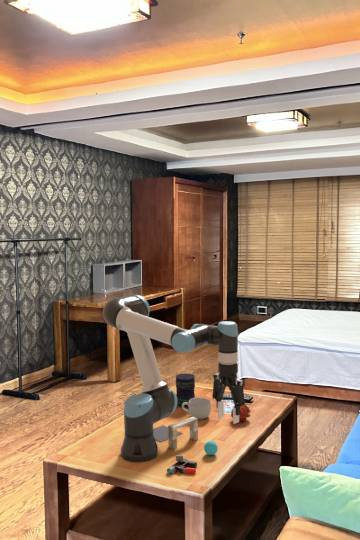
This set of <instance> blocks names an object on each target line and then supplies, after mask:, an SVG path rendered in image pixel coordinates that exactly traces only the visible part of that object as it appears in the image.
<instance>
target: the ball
mask: <svg viewBox="0 0 360 540" xmlns="http://www.w3.org/2000/svg"><path fill="white" fill-rule="evenodd" d="M218 449H219V448H218V445H217V443H216V442H215V441H213V440H208V441H206V442H205V444H204V447H203V451H204V453H205V454H206V455H208V456H213V455H214V456H215V455H216V453H218Z"/></svg>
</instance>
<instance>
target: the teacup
mask: <svg viewBox="0 0 360 540" xmlns="http://www.w3.org/2000/svg"><path fill="white" fill-rule="evenodd" d="M185 404H187V405H188V407H189V408H188V409H187V408H184V405H185ZM211 407H212V401H211V400H210V399H209V398H206V397H202V396H201V397H195V398H192V399H190V400H189V403H188V402H184V403H183V404H182V408H181V409H182V410H183V411H184V412H186V413H187V415H190V416H191V417H195V418H198V420H205V419H207V418H208V417H209V416H210V415H211V409H212V408H211Z"/></svg>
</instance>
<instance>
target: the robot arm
mask: <svg viewBox="0 0 360 540" xmlns="http://www.w3.org/2000/svg"><path fill="white" fill-rule="evenodd" d="M150 312H151V310H150V304H149V302H148V301H147V299H146V298H145V297H143V296H142V295H139V294H130V295H125V296H120V297H115V298H112V299H110V300H108V301H107V302H106V303H105V305H104V306H103V309H102V317H103V319H104V321H105V323H106V324H107V325H108V326H110V327H111V328H114V329H117V330H120V331H123V332H126V333H127V337H128V340H129V344H130V347H131V350H132V353H133V357H134V361H135V363H136V366H137V371H138V373H139V377H140V381H141V384H142V389H141V391H140V393H137V394H132V395H129V396H128V397H127V398H126V399H125V400H124V403H123V421H124V422H123V423H124V425H123V426H124V437H123V441H122V445H121V448H120V456H121V458H122V459H124V460H125V461H127V462H131V463H132V462H136V463H140V462H141V463H142V462H143V463H144V462H147V461H151V460H154V459H155V458H156V457H157V456H158V455H159V447H158V446H159V445H158V444H157V441H156V440H155V438H154V435H153V429H154V424H156V423H157V422H159V421H161V420H163V419H165V418H168V417H169V416H171V415H172V414H173V413H175V412H176V409H177V408H178V407H177V396H176V392H175V391H174V390H173V389H172V388H171V387H169V386H168V383H167V382H166V381H163V378H162V374H161V371H160V368H159V365H158V362H157V359H156V355H155V352H154V348H153V344H152V342H151V339H152V340H155V341H158V342H160V343H163V344H167V345H169V346H171V347H172V348H173V349H174V350H175V352H176V353H180V354H183V353H189V352H191V351H193V350H195V349H198V348H201V347H203V346H206V345H208V346H215V347H216V346H217V351H218V352H217V361H218V363H217V364H218V365H217V367H218V368H217V369H218V371H217V373H214V374H212V376H213V386H212V399H215V402H216V409H217V419H221V418H224V417H225V414H224V413H225V405H224V404H225V403H224V402H225V401H224V398H223V397H224V394H225V391H226V387H228V389H229V391H230V394H231V398H232V401H233V405H234V406H232V409H233V418H232V424H234V425H235V424H237V423H238V424H239V423H240V422H239V415H240V407H241V406H244V405H245V404H246V401H245V392H244V384H245V383H244V382H245V381H244V380H243V379H240V378H239V377H238V372H239V363H238V361H239V357H238V356H239V350H238V346H239V345H238V344H239V342H238V341H239V340H238V339H239V331H238V330H239V329H238V324H237V323H236V322H235V321H231V320H229V321H228V320H227V321H226V320H225V321H220V322H218V324H217V325H212V324H211V325H210V324H204V323H194V324H193V325H192V326H191V327H190V329H186V328H182V327H179V326H178V325H174V324H170V323H168V322H166V321H165V322H164V321H161V320H159V319H156V318H153V317H150Z"/></svg>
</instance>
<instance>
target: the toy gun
mask: <svg viewBox="0 0 360 540" xmlns="http://www.w3.org/2000/svg"><path fill="white" fill-rule="evenodd" d="M175 461H176V462H175V463H174V464H171V466H170V467H169V468H167V469H166V473H167V474H170V475H173V474H175V473H180V474H181V475H182V474H184V473H185V474H188V475H195V474H196V472H197V469H196V468H197V467H198V462H197V461H192V460H188V459H187V458H184V456H183V455H179V454H177V455H175Z"/></svg>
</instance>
